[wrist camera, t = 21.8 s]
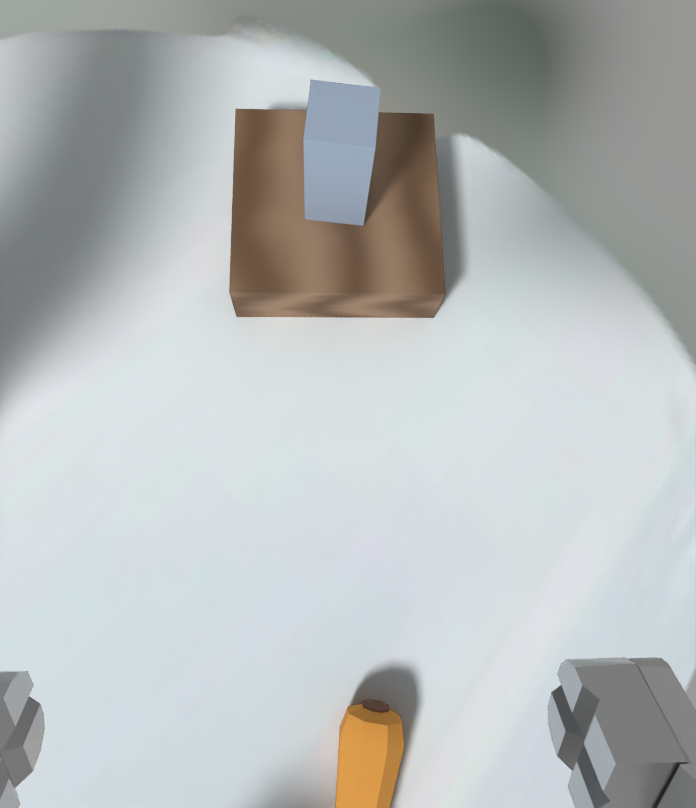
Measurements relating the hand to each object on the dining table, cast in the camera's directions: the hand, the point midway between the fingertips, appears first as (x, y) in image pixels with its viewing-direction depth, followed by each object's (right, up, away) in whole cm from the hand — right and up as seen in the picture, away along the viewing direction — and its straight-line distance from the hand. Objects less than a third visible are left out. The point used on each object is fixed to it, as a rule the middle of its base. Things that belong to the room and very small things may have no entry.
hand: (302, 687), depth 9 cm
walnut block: (0, +19, +42) cm, 46 cm away
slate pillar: (0, +20, +38) cm, 43 cm away
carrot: (+1, -26, +30) cm, 40 cm away
